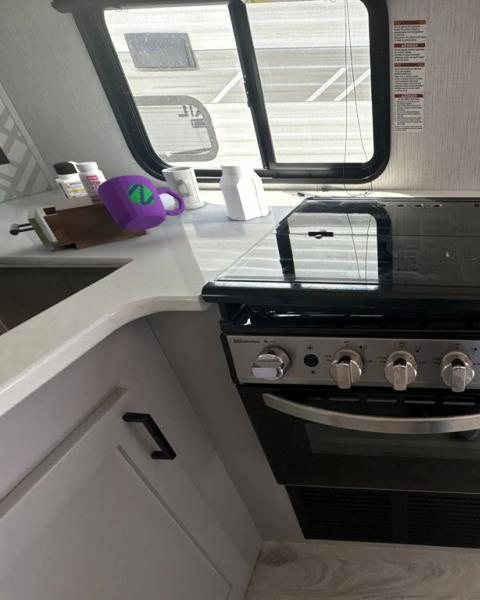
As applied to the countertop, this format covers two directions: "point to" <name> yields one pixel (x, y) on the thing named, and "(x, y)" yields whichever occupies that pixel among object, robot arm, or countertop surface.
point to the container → (69, 180)
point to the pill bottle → (90, 178)
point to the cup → (184, 186)
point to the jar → (242, 191)
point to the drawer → (41, 229)
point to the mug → (136, 202)
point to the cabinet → (90, 222)
